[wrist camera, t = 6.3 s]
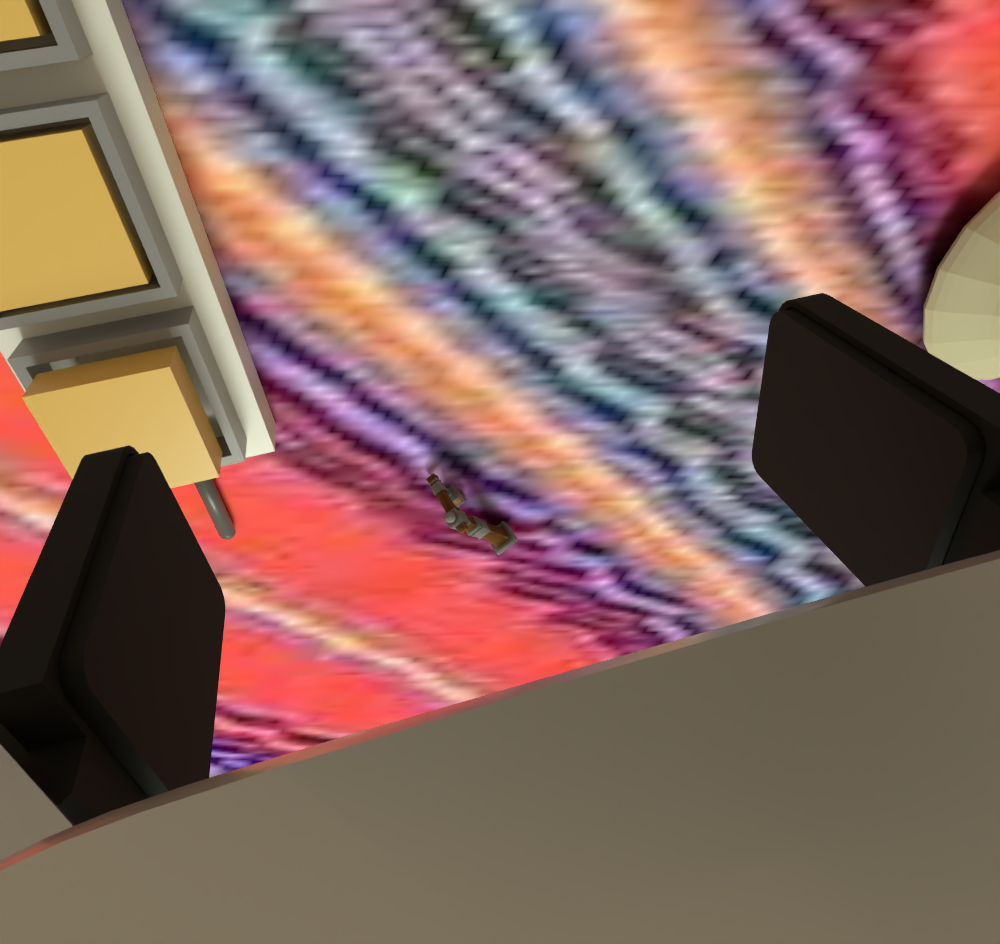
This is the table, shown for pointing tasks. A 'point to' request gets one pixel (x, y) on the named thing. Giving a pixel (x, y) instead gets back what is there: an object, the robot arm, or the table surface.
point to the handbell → (968, 299)
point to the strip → (157, 218)
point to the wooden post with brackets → (470, 518)
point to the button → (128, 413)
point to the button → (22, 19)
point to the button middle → (63, 220)
